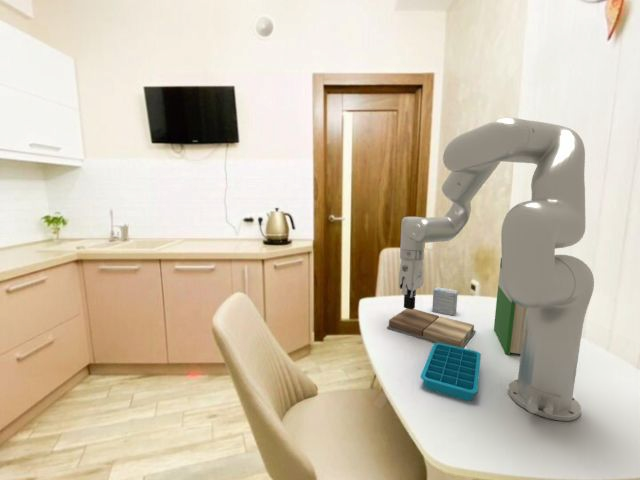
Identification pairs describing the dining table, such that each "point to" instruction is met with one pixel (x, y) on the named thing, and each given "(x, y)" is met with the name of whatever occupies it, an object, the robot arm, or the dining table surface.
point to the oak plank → (449, 331)
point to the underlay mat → (427, 338)
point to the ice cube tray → (452, 371)
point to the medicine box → (444, 301)
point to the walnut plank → (413, 321)
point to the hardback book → (508, 320)
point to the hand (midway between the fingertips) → (409, 307)
